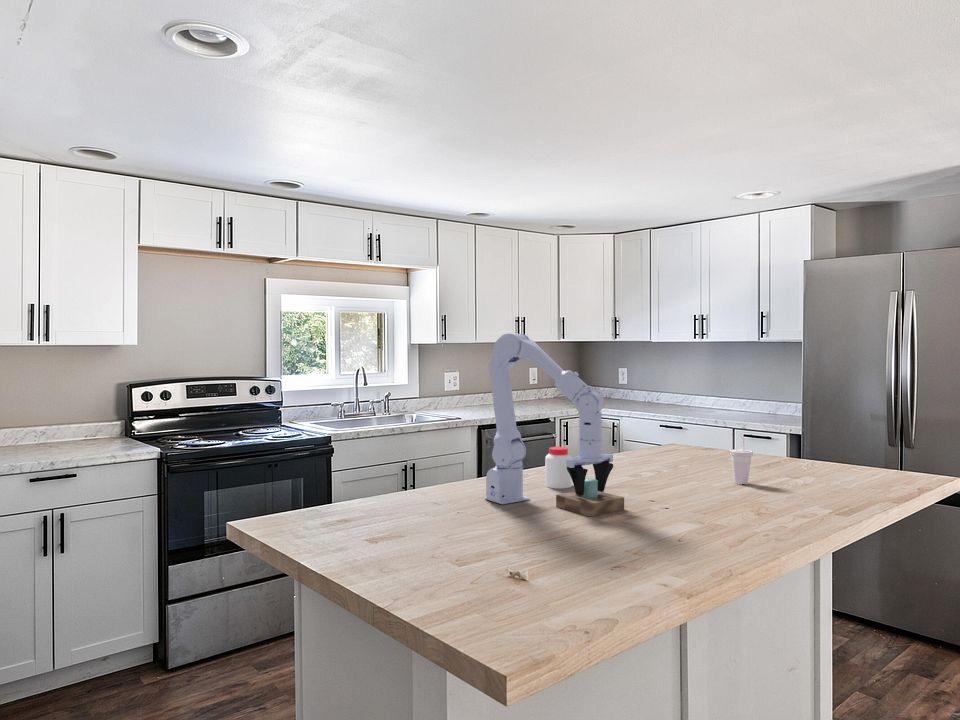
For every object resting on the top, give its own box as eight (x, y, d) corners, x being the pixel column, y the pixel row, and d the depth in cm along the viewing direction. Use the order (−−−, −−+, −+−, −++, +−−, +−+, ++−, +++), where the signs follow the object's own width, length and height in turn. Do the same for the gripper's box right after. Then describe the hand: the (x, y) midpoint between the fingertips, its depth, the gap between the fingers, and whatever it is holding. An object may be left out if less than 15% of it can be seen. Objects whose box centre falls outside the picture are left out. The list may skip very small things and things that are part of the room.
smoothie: (756, 485, 195) (756, 437, 195) (733, 485, 195) (734, 437, 195) (747, 481, 201) (748, 434, 201) (726, 481, 201) (726, 434, 201)
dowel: (588, 510, 167) (588, 482, 167) (578, 507, 170) (578, 479, 170) (600, 508, 169) (600, 480, 169) (590, 505, 172) (590, 478, 172)
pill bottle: (563, 489, 190) (563, 451, 190) (540, 486, 195) (540, 448, 194) (576, 485, 196) (576, 447, 196) (553, 481, 201) (553, 445, 200)
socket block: (589, 516, 161) (589, 504, 161) (556, 506, 171) (556, 494, 171) (624, 509, 168) (624, 497, 168) (590, 500, 178) (590, 488, 178)
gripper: (580, 443, 161) (580, 499, 162) (622, 438, 170) (621, 492, 170) (560, 440, 167) (560, 494, 168) (601, 435, 175) (601, 487, 176)
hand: (589, 492), depth 169 cm, fingers open, 7 cm apart
